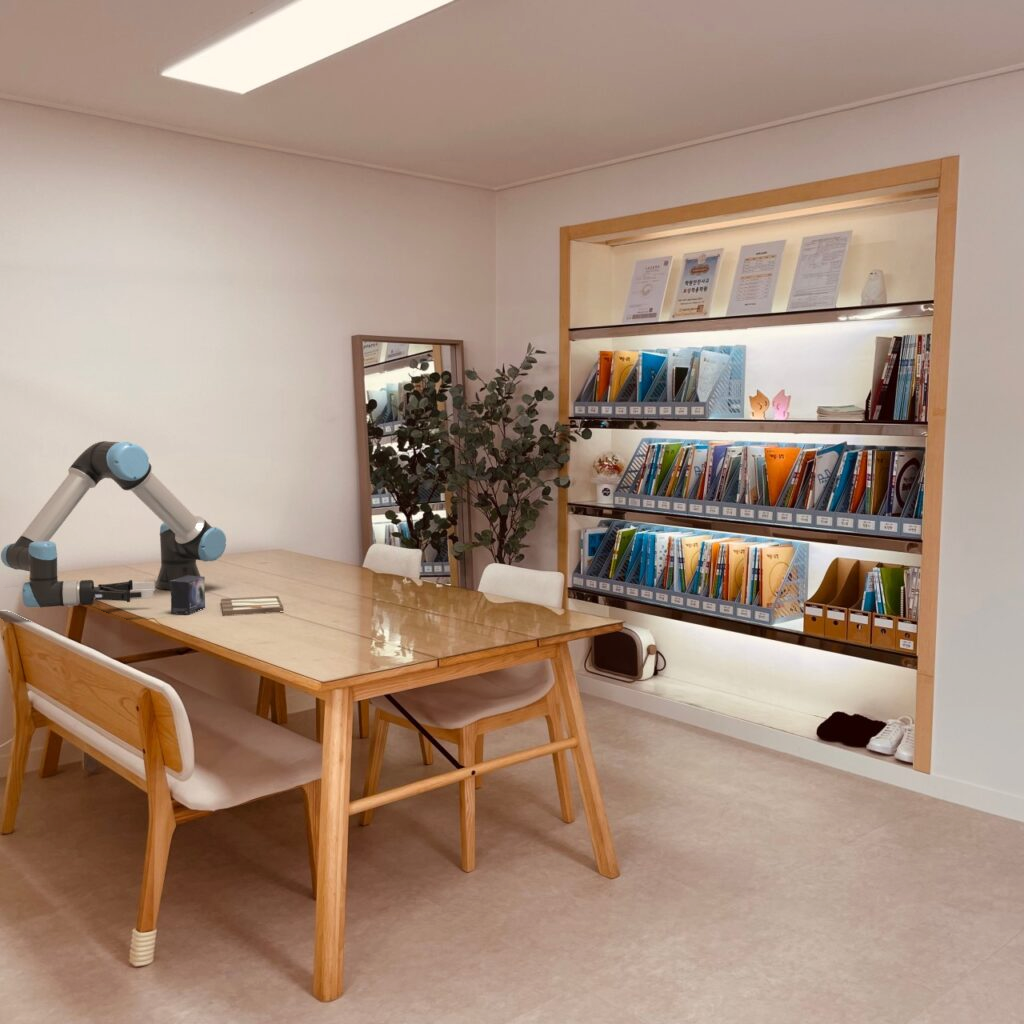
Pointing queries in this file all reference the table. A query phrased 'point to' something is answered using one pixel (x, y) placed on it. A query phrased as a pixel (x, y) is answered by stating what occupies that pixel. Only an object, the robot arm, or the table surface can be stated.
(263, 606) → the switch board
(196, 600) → the small box
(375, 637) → the table surface
